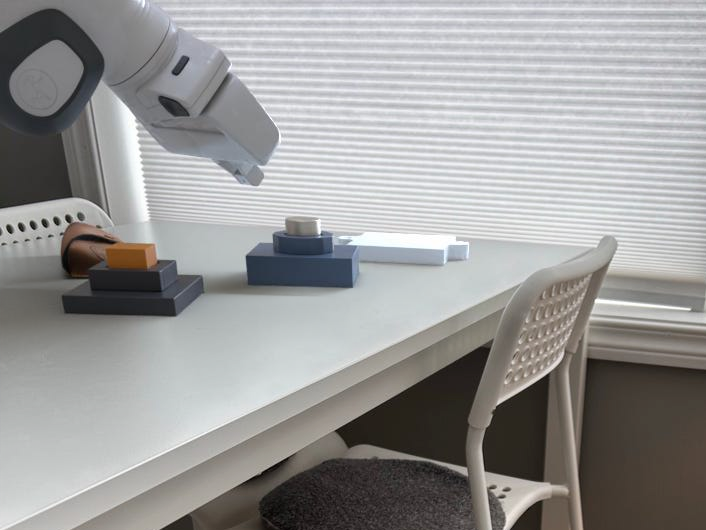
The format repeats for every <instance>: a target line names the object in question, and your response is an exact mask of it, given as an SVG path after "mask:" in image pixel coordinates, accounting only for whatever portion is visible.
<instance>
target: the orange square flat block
mask: <svg viewBox="0 0 706 530" xmlns="http://www.w3.org/2000/svg"><path fill="white" fill-rule="evenodd" d="M156 249H157V248H156V244H155V243H145V242H144V243H142V242H124V243H115V244H113V245H111V246H109V247H107V248H105V250H106V256H107V263H108V268H133V269H151V268H152V267H154V266H155V265H157V260H158V258H157V257H158V256H157V250H156Z"/></svg>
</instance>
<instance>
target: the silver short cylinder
mask: <svg viewBox="0 0 706 530" xmlns="http://www.w3.org/2000/svg"><path fill="white" fill-rule="evenodd" d="M284 225H285V227H284V228H285V230H286V235H288V236H298V237H312V236H321V232H320V231H321V219H320V218H318V217H313V216H288V217H285V218H284Z"/></svg>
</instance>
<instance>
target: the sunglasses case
mask: <svg viewBox="0 0 706 530" xmlns="http://www.w3.org/2000/svg"><path fill="white" fill-rule="evenodd" d="M60 242H61V243H60V263H61V266H62V269H63V270H64V271H65V272H66V274H68V275H69V276H70V277H72V278H75V279H80V278H82V279H89V276H88V269H90V268H91V267H93V266H95V265H97V264H99V263H100V262H102V261H104V260H106V259H107V256H106V250H105V248H107V247H109V246H111V245H113V244H115V243H125V242H124V241H122V240H121V239H120V238H119V237H117V236H115V235H113V234H111V233H109V232H107V231H104V230H103V229H101V228H99V227H97V226H94V225H92V224H89V223H86V222H80V221H74V222H71V223H69V224H68V225H67V227H66V228H65V229H64V232H63V235H62V238H61V241H60Z"/></svg>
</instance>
